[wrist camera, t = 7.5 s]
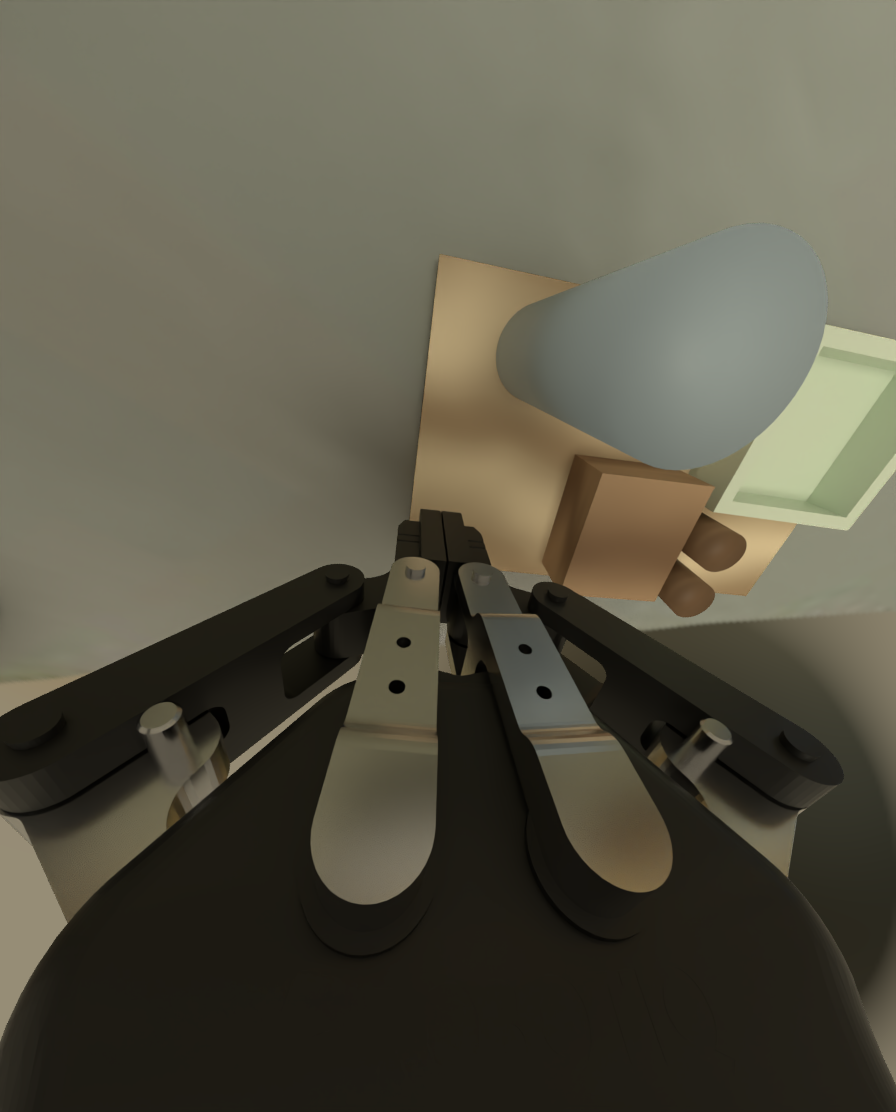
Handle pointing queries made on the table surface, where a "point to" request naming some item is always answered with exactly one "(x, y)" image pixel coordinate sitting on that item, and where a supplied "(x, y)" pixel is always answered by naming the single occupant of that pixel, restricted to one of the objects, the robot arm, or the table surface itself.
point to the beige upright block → (621, 527)
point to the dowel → (676, 346)
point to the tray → (819, 441)
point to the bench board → (537, 448)
